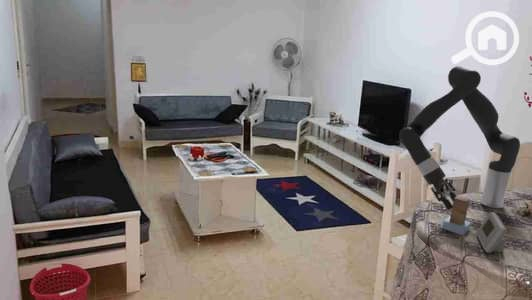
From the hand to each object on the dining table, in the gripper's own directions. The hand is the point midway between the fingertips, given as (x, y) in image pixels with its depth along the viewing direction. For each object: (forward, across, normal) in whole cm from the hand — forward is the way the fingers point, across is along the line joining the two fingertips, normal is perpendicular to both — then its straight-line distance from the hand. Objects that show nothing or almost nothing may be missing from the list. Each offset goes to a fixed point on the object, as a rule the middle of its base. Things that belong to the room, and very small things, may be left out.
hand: (454, 205), depth 170 cm
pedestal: (+8, 0, +5) cm, 9 cm away
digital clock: (+18, -5, -4) cm, 19 cm away
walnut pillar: (+6, 0, +3) cm, 7 cm away
